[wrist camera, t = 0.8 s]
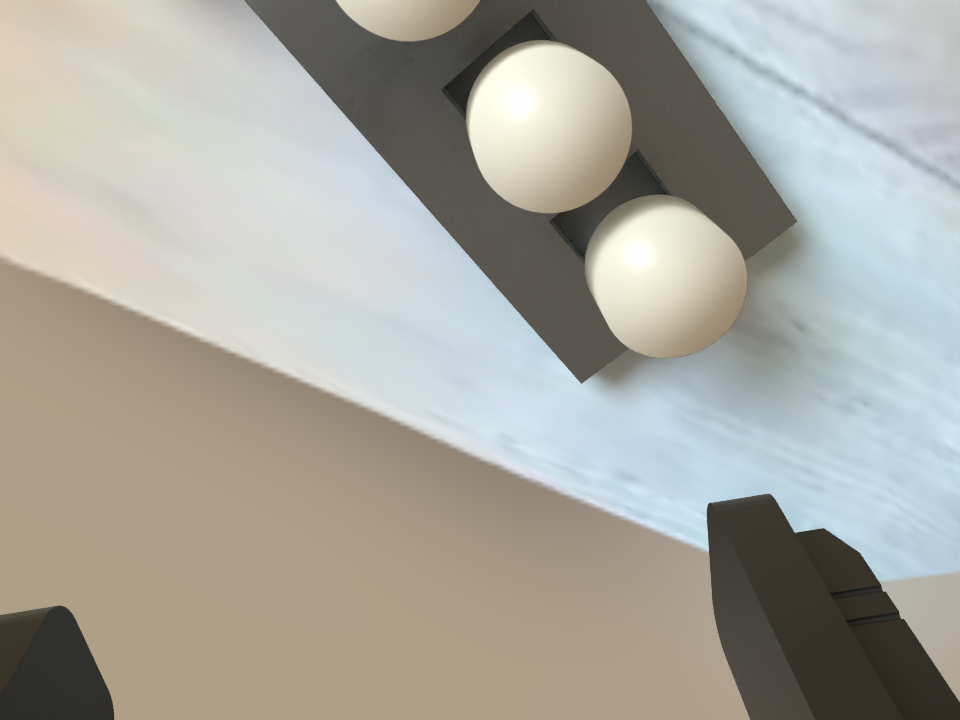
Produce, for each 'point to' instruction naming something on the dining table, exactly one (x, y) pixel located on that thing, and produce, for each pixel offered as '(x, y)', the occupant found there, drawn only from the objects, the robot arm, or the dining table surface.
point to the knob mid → (548, 126)
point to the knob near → (408, 16)
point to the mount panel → (455, 173)
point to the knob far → (665, 276)
